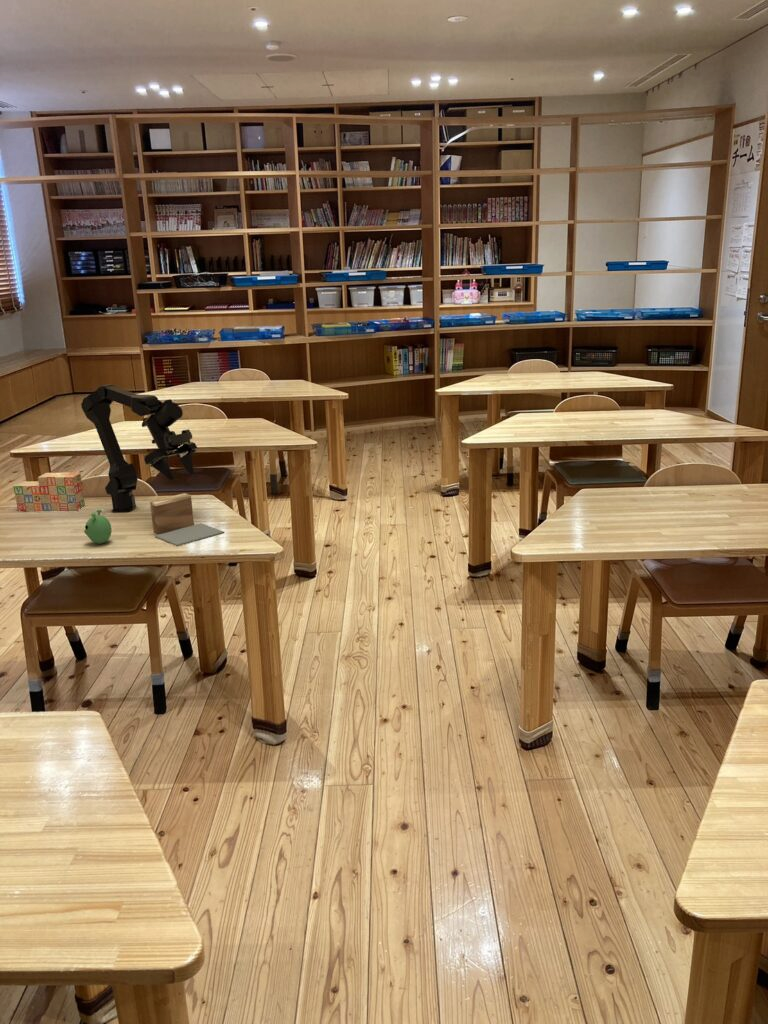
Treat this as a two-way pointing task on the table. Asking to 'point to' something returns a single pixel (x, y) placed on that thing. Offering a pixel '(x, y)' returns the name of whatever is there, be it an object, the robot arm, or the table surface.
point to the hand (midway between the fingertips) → (183, 477)
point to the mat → (189, 534)
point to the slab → (172, 513)
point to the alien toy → (98, 528)
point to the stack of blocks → (51, 493)
